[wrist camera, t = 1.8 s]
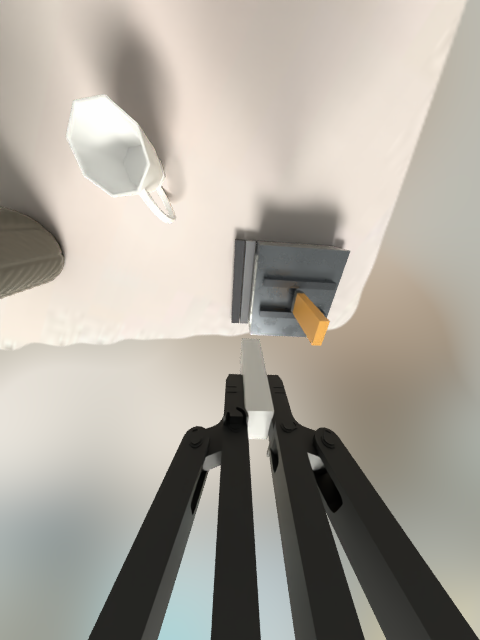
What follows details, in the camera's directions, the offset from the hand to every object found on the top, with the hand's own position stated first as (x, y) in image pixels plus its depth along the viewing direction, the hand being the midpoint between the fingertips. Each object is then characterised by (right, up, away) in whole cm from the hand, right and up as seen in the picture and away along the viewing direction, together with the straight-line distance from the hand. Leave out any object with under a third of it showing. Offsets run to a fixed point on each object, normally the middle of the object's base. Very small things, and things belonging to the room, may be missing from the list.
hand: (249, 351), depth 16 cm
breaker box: (+7, +9, +15) cm, 19 cm away
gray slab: (-1, +9, +15) cm, 17 cm away
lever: (+7, +5, +10) cm, 13 cm away
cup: (-12, +21, +8) cm, 25 cm away
